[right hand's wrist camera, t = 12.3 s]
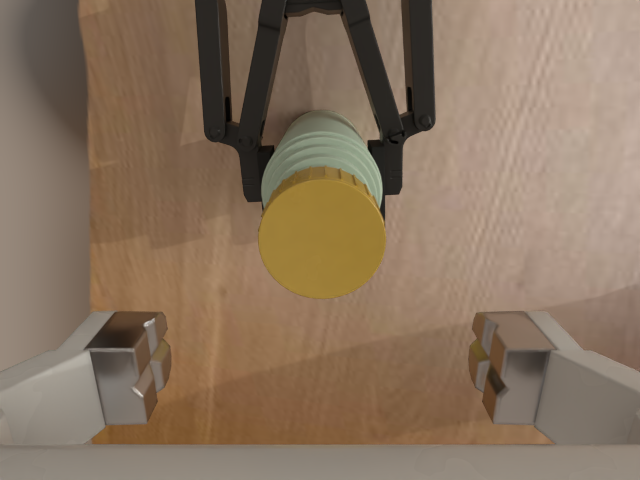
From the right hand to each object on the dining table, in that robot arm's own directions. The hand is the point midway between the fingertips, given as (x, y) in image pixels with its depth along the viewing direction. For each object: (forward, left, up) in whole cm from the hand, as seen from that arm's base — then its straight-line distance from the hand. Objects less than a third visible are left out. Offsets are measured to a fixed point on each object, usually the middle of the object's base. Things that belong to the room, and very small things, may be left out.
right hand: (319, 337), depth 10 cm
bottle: (0, 0, -25) cm, 25 cm away
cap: (0, 0, -6) cm, 6 cm away
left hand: (-5, +1, -19) cm, 20 cm away
